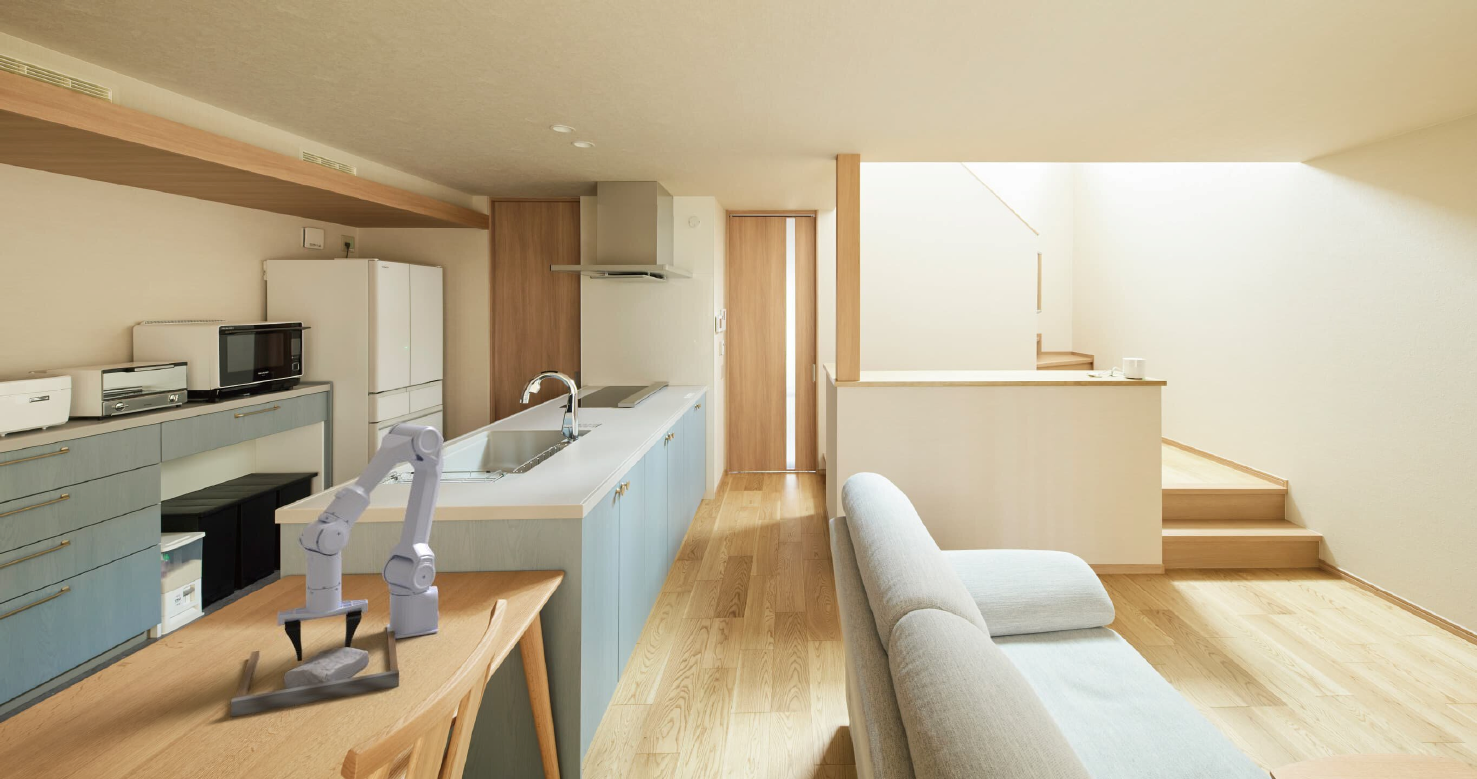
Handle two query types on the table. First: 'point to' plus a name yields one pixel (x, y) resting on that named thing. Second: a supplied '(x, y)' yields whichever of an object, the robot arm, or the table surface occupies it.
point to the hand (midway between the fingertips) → (323, 654)
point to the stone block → (327, 667)
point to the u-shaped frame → (311, 687)
